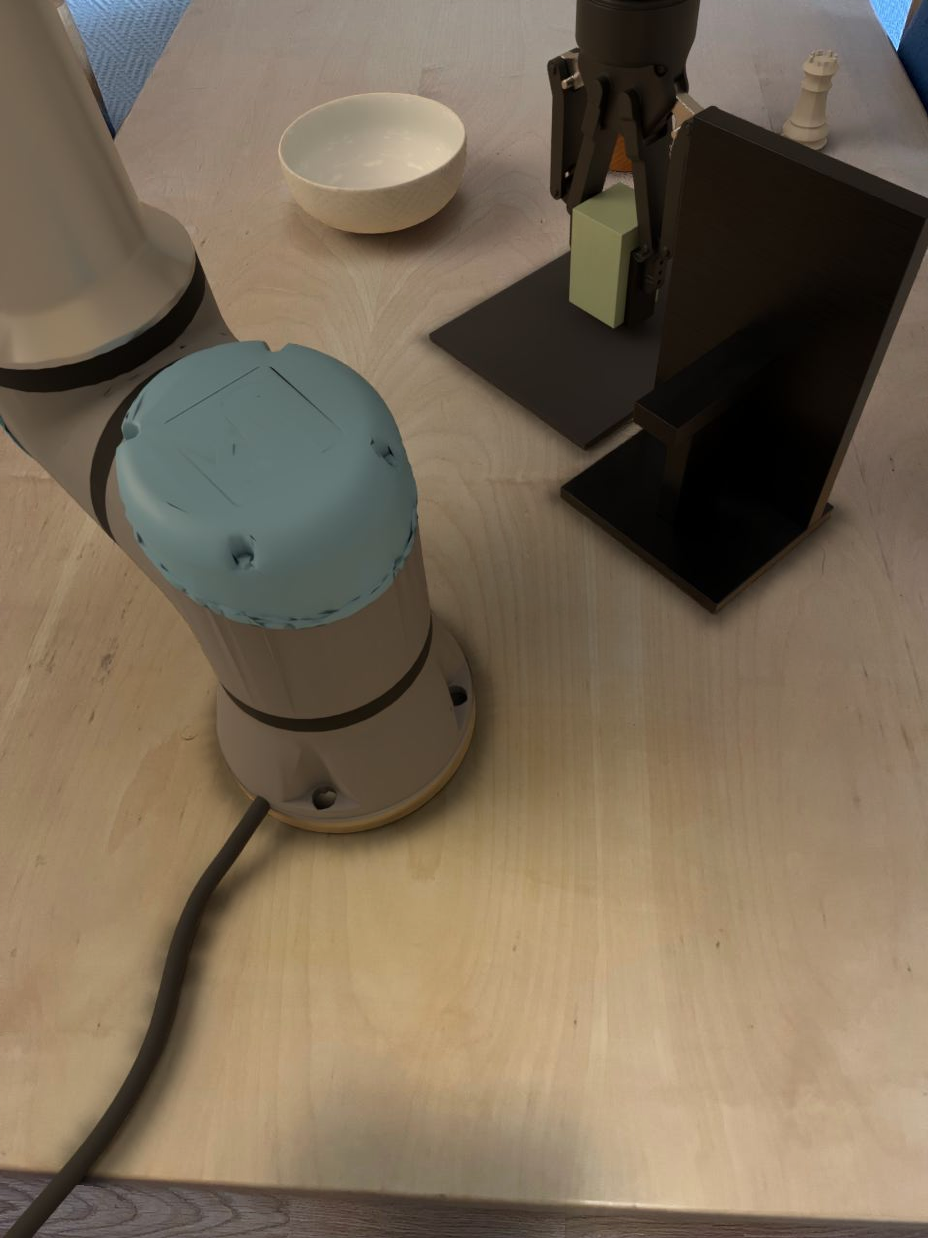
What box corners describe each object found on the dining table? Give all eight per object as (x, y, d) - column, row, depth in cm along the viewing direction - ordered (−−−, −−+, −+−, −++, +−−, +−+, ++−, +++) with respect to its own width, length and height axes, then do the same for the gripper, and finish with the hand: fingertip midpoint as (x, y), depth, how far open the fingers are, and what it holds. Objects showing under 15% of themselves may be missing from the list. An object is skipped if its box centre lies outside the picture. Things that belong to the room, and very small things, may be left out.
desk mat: (584, 450, 66) (584, 444, 66) (429, 339, 75) (428, 333, 74) (791, 305, 74) (793, 299, 74) (630, 220, 83) (631, 213, 82)
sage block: (613, 328, 71) (621, 235, 64) (568, 301, 73) (572, 208, 67) (657, 300, 73) (669, 206, 66) (612, 274, 75) (619, 181, 68)
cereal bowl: (353, 286, 80) (339, 210, 74) (262, 207, 88) (244, 134, 82) (506, 213, 85) (504, 137, 79) (407, 145, 93) (398, 72, 87)
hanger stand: (713, 614, 57) (803, 304, 39) (559, 496, 64) (571, 182, 45) (830, 516, 61) (963, 191, 43) (674, 414, 68) (729, 94, 49)
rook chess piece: (827, 156, 87) (851, 67, 80) (779, 155, 88) (799, 66, 81) (824, 132, 90) (847, 44, 83) (777, 131, 90) (796, 43, 84)
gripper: (804, -7, 51) (730, 333, 70) (578, -83, 60) (566, 240, 79) (716, 38, 49) (664, 379, 68) (493, -47, 57) (503, 277, 76)
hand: (612, 303), depth 73 cm, fingers closed on sage block, 5 cm apart
